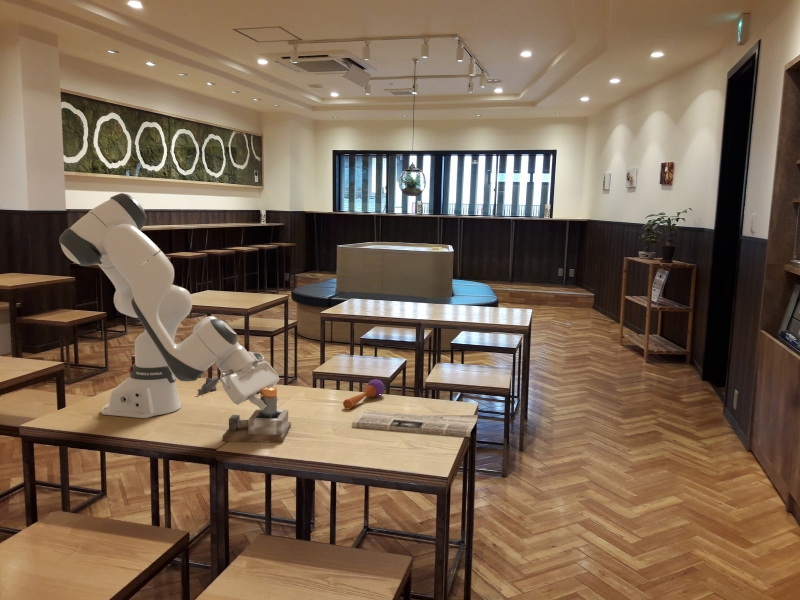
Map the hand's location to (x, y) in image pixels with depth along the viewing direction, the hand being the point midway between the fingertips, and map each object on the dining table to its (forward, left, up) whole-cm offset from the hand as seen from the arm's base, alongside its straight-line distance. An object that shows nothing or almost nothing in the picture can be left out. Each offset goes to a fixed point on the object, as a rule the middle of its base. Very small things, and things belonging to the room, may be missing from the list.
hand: (270, 404), depth 165 cm
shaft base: (-4, 0, -8) cm, 9 cm away
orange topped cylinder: (-1, 0, -5) cm, 6 cm away
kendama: (+24, +33, -9) cm, 41 cm away
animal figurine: (-30, +41, -9) cm, 51 cm away
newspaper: (+40, +10, -9) cm, 43 cm away
